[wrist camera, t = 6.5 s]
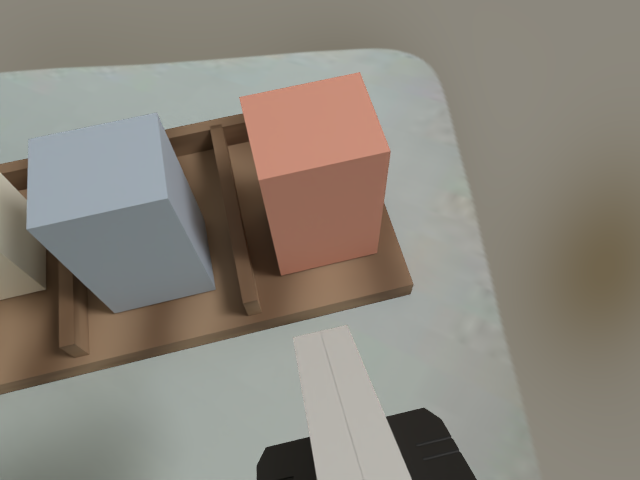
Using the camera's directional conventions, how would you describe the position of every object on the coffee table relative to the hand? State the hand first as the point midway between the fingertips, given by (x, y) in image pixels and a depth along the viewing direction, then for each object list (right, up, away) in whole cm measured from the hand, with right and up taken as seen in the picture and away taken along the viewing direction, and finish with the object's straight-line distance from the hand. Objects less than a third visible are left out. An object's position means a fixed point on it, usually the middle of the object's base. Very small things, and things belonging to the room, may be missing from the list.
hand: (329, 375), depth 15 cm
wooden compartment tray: (-10, +3, +21) cm, 23 cm away
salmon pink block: (0, +4, +19) cm, 19 cm away
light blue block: (-10, +2, +18) cm, 21 cm away
